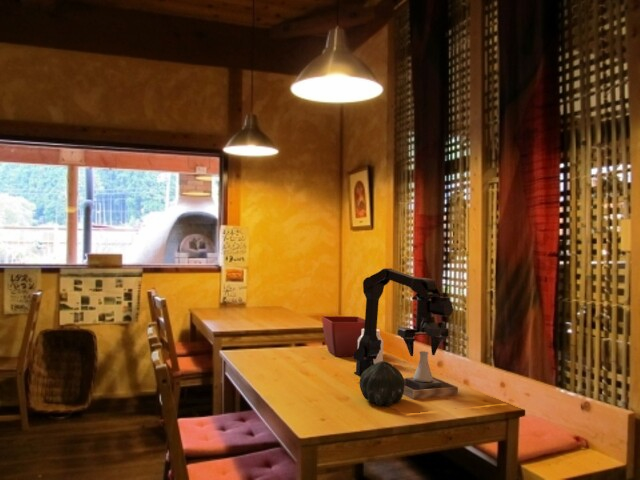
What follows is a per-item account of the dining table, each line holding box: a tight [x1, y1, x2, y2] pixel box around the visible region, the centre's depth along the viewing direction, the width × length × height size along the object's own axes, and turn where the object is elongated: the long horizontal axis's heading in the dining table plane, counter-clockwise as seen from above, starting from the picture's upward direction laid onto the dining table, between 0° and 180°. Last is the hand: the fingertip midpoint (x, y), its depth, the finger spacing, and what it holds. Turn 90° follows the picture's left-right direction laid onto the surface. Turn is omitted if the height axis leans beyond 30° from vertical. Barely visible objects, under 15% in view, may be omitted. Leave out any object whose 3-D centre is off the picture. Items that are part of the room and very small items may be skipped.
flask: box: [412, 350, 434, 382], centre depth 191 cm, size 7×7×10 cm
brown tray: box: [403, 376, 459, 401], centre depth 191 cm, size 18×16×4 cm
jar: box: [358, 329, 384, 364], centre depth 237 cm, size 12×10×15 cm
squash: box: [359, 360, 405, 407], centre depth 178 cm, size 14×15×15 cm
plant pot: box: [321, 315, 365, 357], centre depth 257 cm, size 19×19×17 cm
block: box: [405, 376, 441, 390], centre depth 191 cm, size 9×9×4 cm
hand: (422, 355), depth 195 cm, fingers open, 9 cm apart
